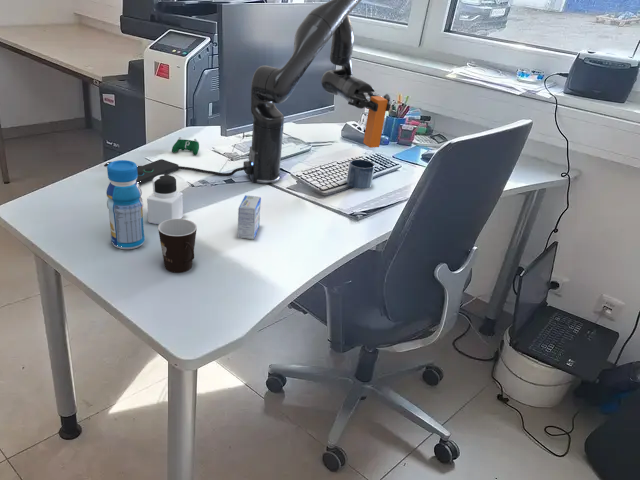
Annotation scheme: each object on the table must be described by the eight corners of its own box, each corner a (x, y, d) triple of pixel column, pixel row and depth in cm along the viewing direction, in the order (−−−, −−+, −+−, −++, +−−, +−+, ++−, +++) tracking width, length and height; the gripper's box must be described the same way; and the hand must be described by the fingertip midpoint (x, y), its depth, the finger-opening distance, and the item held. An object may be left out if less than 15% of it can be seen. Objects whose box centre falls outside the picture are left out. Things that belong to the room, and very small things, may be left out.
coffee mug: (160, 256, 132) (158, 218, 127) (196, 256, 133) (196, 218, 128) (158, 282, 123) (156, 242, 117) (197, 282, 124) (197, 242, 118)
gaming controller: (198, 159, 194) (202, 143, 195) (196, 153, 190) (200, 137, 191) (173, 155, 195) (177, 140, 196) (170, 150, 191) (174, 135, 193)
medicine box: (254, 240, 141) (256, 209, 137) (237, 237, 142) (238, 206, 137) (259, 226, 148) (261, 196, 143) (243, 224, 148) (244, 194, 144)
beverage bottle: (129, 254, 133) (123, 174, 122) (103, 244, 136) (95, 165, 125) (152, 240, 139) (148, 163, 128) (126, 231, 142) (120, 155, 131)
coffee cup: (352, 190, 171) (356, 169, 167) (342, 181, 177) (345, 160, 173) (375, 189, 173) (379, 167, 169) (364, 179, 179) (368, 158, 175)
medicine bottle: (183, 216, 151) (182, 174, 144) (172, 227, 145) (171, 184, 139) (159, 212, 153) (157, 170, 146) (147, 222, 147) (145, 179, 140)
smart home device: (115, 174, 169) (160, 158, 183) (115, 180, 170) (161, 163, 184) (134, 182, 165) (179, 164, 179) (134, 187, 166) (179, 169, 180)
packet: (369, 147, 169) (377, 100, 161) (363, 142, 173) (370, 96, 165) (379, 147, 170) (387, 100, 162) (372, 142, 173) (380, 96, 165)
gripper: (338, 80, 172) (362, 95, 158) (380, 80, 175) (407, 94, 162) (335, 105, 176) (358, 121, 163) (375, 104, 180) (401, 120, 166)
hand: (382, 107), depth 162 cm, fingers closed on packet, 3 cm apart
